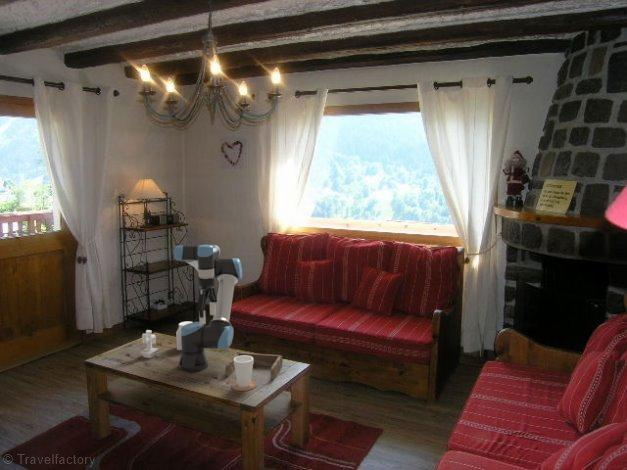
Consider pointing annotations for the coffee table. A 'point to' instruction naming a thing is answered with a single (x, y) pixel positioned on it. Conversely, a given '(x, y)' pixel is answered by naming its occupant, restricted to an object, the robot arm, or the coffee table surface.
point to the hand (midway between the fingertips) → (207, 319)
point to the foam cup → (243, 370)
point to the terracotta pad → (236, 387)
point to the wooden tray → (259, 362)
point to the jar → (180, 334)
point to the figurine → (149, 344)
